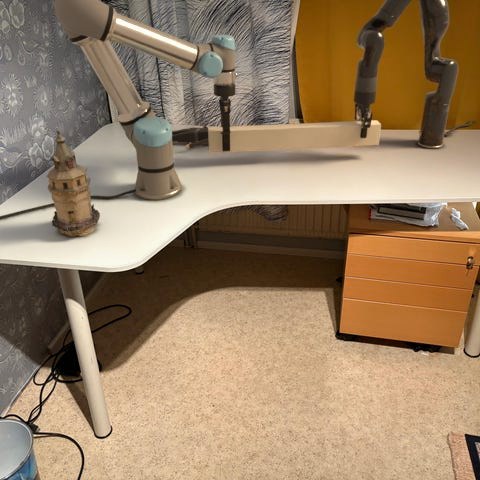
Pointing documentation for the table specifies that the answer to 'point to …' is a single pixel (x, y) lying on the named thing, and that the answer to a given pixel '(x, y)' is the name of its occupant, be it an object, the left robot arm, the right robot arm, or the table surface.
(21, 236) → the table surface
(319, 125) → the beam
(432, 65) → the right robot arm
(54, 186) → the miniature building
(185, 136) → the toy
